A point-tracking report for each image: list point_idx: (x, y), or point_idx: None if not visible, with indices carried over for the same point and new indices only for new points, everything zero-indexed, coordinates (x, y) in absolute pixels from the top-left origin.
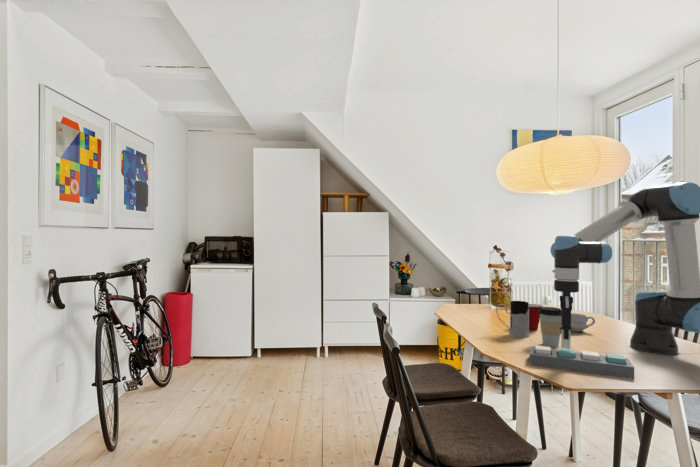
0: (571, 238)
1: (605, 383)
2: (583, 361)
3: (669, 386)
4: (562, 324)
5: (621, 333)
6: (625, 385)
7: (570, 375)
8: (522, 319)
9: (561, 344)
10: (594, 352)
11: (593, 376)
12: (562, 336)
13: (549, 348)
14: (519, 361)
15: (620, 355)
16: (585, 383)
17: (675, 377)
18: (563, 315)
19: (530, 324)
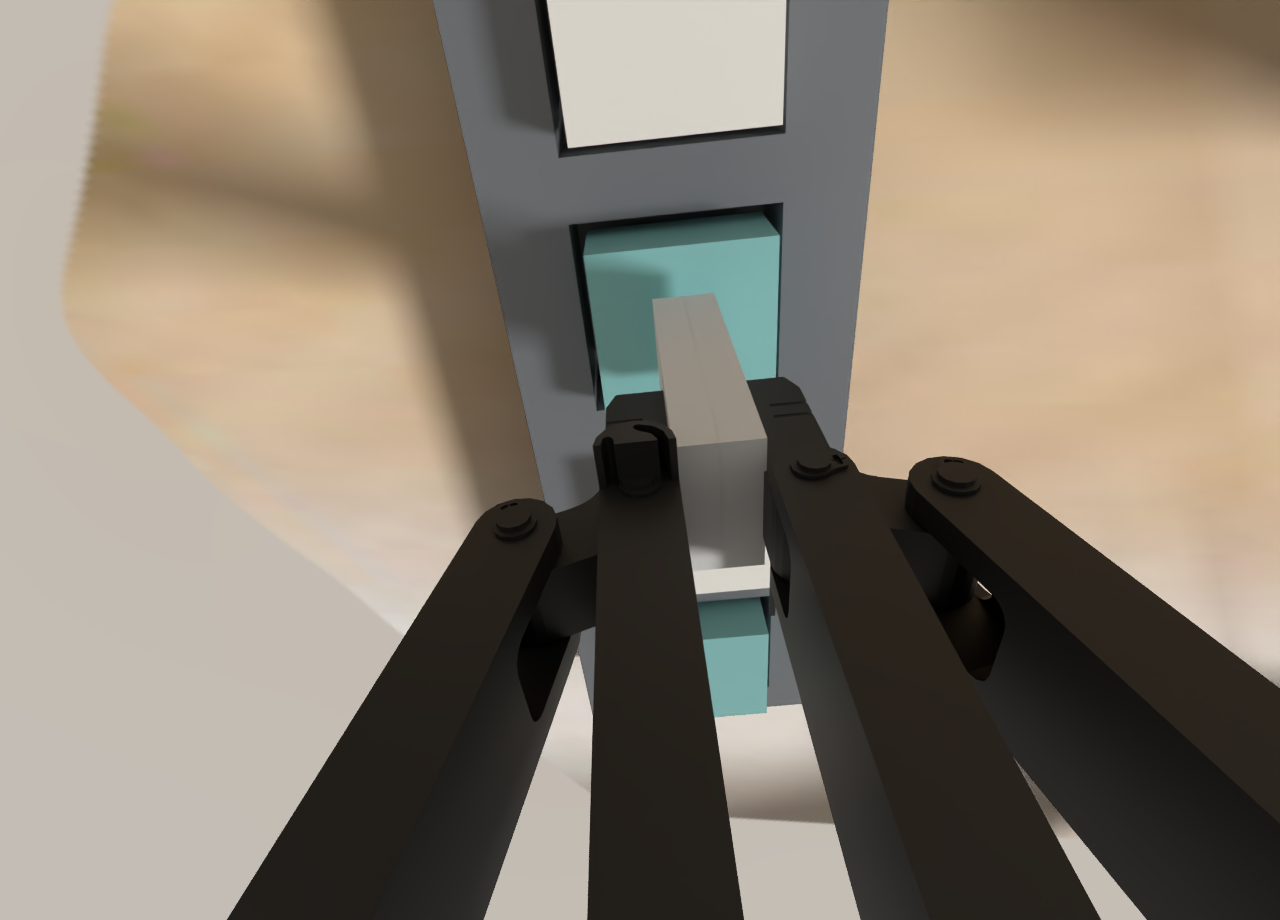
0: None
1: (353, 538)
2: (537, 466)
3: (559, 754)
4: (598, 543)
5: None
6: (409, 621)
7: (349, 328)
8: None
9: (671, 314)
10: (756, 567)
11: (465, 477)
12: (666, 386)
13: (683, 116)
14: None
15: (756, 701)
16: (229, 435)
17: (744, 778)
18: (278, 854)
19: None
